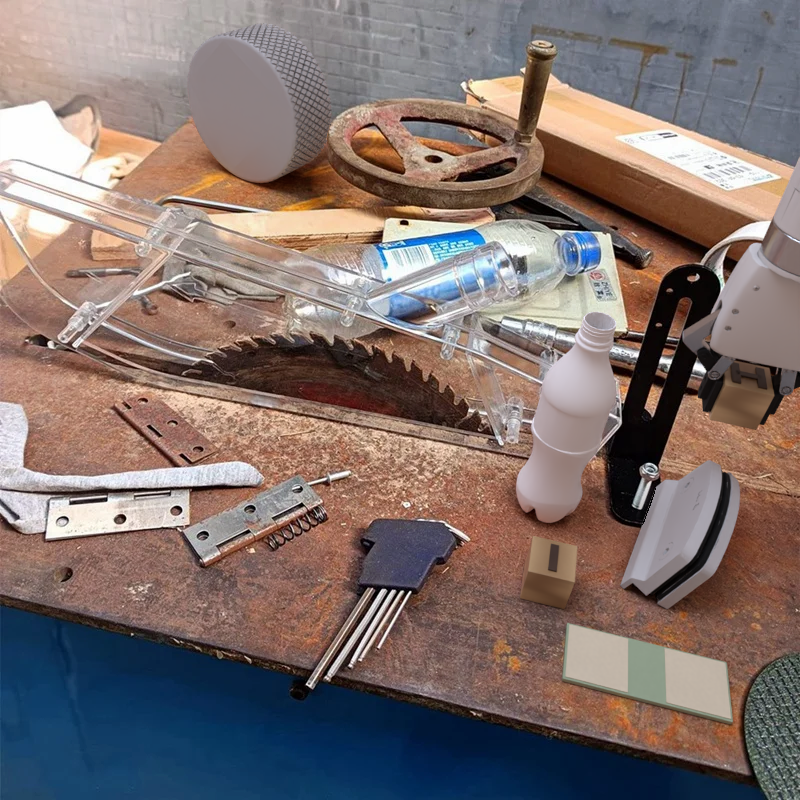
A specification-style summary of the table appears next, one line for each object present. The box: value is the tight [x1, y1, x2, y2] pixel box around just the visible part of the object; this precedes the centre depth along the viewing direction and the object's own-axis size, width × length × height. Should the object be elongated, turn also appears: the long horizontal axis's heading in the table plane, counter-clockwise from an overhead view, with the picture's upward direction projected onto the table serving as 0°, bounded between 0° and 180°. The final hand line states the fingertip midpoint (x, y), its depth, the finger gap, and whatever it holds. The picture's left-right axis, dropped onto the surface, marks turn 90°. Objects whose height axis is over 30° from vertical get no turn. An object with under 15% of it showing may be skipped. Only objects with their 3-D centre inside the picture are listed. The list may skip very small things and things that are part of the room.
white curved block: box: [619, 459, 741, 610], centre depth 79 cm, size 17×5×10 cm, turn 153°
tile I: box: [519, 535, 579, 610], centre depth 75 cm, size 4×4×5 cm
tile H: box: [708, 360, 774, 431], centre depth 75 cm, size 4×4×5 cm
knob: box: [186, 22, 333, 184], centre depth 135 cm, size 25×10×25 cm, turn 58°
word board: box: [561, 622, 734, 725], centre depth 70 cm, size 15×6×1 cm, turn 77°
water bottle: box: [515, 311, 617, 524], centre depth 77 cm, size 7×7×25 cm
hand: (732, 408), depth 76 cm, fingers closed on tile H, 4 cm apart
